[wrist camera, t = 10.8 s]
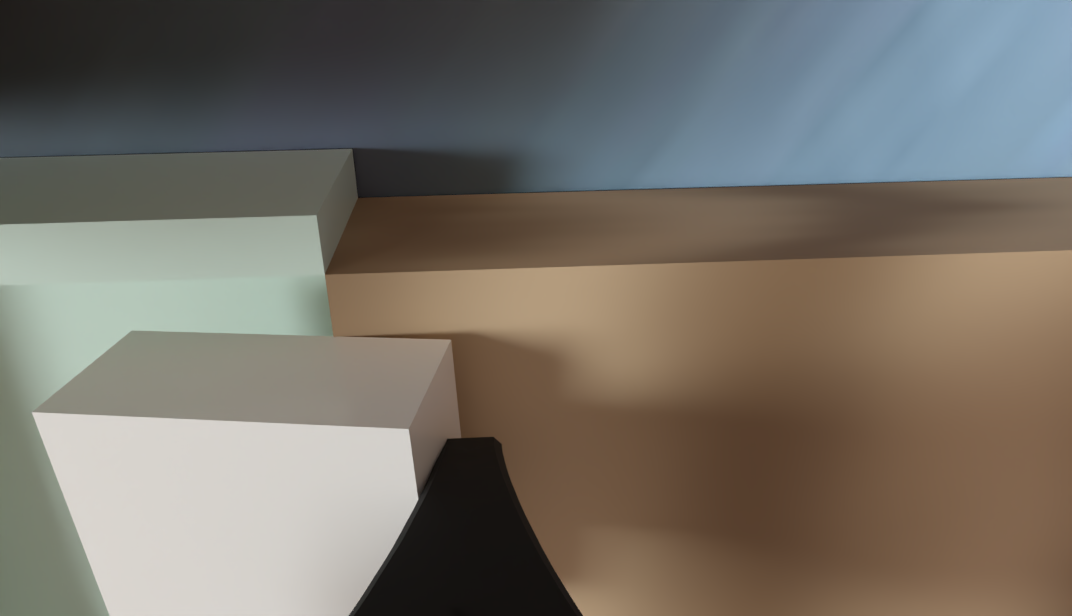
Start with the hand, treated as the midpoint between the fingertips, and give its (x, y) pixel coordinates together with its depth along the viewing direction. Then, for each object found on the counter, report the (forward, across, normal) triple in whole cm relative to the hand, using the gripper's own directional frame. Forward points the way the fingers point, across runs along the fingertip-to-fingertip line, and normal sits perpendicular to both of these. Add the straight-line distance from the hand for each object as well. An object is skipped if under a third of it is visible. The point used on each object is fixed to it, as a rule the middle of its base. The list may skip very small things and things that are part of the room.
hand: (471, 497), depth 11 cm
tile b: (+1, +2, 0) cm, 3 cm away
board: (+4, -5, +3) cm, 7 cm away
